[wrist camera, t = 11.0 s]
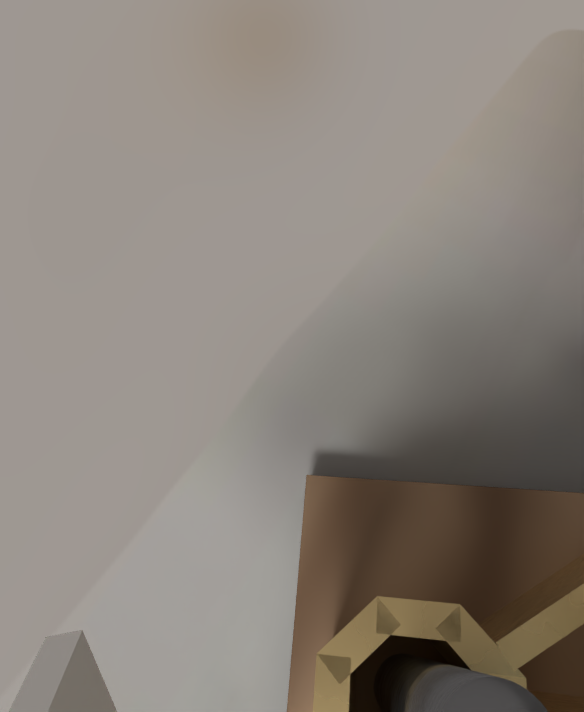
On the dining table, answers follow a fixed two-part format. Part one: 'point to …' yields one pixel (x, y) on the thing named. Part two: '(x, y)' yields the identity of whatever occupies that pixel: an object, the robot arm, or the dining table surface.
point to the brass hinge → (459, 637)
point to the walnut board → (428, 567)
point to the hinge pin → (446, 688)
